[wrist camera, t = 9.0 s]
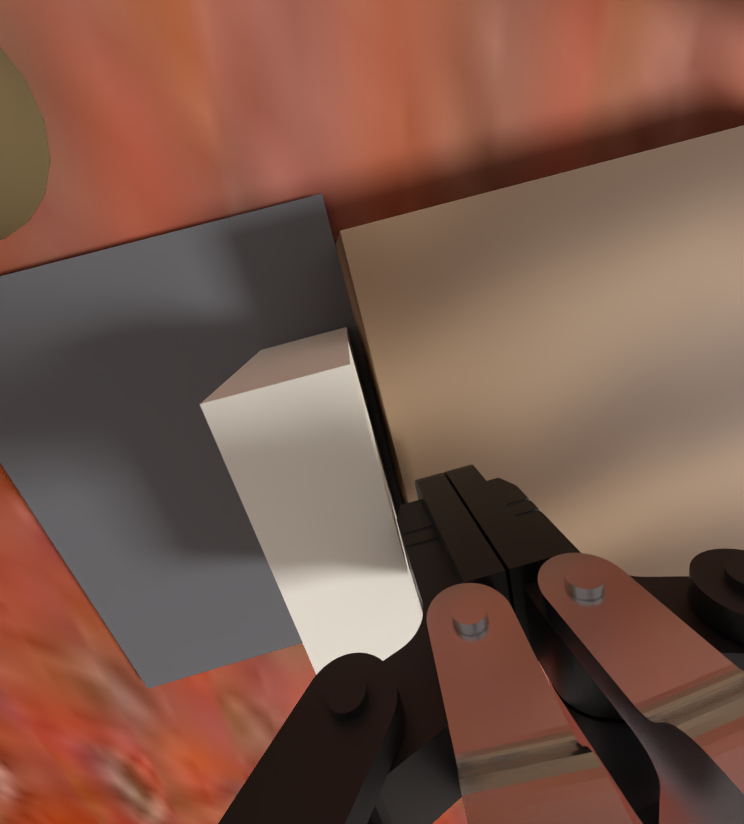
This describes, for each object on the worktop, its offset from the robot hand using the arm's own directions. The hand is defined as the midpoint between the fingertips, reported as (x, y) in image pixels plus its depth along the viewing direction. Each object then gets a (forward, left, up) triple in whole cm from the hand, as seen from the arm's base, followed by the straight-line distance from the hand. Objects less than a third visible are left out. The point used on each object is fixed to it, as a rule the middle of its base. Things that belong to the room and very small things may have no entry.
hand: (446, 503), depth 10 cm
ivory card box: (0, -1, -2) cm, 2 cm away
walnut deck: (0, +8, -6) cm, 9 cm away
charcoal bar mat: (0, -7, -6) cm, 9 cm away
